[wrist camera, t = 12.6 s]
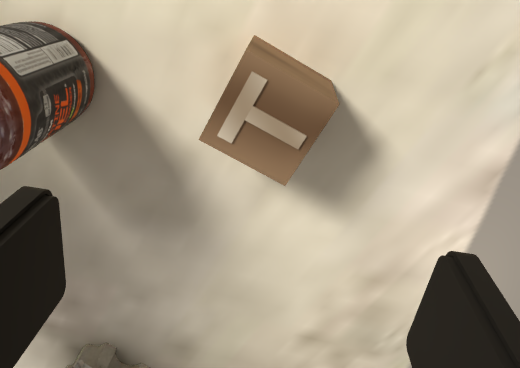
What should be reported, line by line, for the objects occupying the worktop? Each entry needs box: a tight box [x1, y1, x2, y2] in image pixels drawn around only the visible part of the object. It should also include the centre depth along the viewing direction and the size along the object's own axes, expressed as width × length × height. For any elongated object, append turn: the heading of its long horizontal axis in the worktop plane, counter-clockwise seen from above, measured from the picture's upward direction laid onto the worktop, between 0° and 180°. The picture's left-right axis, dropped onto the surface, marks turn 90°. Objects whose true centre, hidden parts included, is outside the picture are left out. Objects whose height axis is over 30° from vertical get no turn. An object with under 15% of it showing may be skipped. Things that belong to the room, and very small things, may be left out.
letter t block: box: [199, 35, 339, 186], centre depth 23 cm, size 5×5×5 cm
